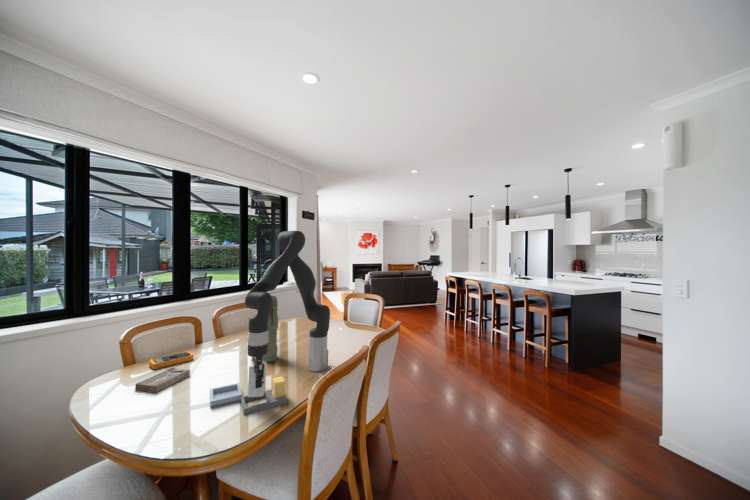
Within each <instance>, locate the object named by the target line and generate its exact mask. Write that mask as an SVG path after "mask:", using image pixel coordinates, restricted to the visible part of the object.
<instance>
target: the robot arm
mask: <svg viewBox="0 0 750 500" xmlns="http://www.w3.org/2000/svg"><path fill="white" fill-rule="evenodd" d="M277 242H278V243H277V244H278V246H279V248H280V251H281V253H282V254H281V255H279V256H278V257H277V258H276V259H275V260H273V261H272V263H270V264H269V266H267V269H266V270H265V271H264V273H263V275H262V276H261V278H260V279H259V281H258V282H257V283H255V285H253V287H252V288H251V289H250V290H249V291H248V292H247V293H246V296H245V299H244V305H245V307H246V308H247V309H251V310H257V313H256V314H254V315H252V316H250V318H248V335H247V355H248V357H251V362H252V363H253V365H254V373H255V379H256V380H255V387H256V388H261V387H262V378H263V377H264V364H263V363H264V359H263V357H262V356H264V355H266V354H267V353H268V318H269V315H270V311H271V308H272V305H273V299H272V296H273V295H271V293H269V292H272V291H275V290H276V288H277V287H278V285H279V283H280V281H281V280H282V278H283V276H284V274H285V273H286V271H287V269H288V268H289V269H290V271H291V273H292V276H293V279H294V282H295V285H296V287H297V289H298V291H299V294H300V296H301V299H302V301H303V302H302V303H303V306H304V310H305V315H306V316H307V318H308V320H309V321H311V322H314V323H316V327H312V328H311V329H310V330H309V340H308V343H309V345H308V370H309V371H311V372H322V371H324V370H327V369H328V368H329V349H328V333H329V330H330V320H331V319H330V318H331V310H330V307H329V306H328V305H326V304H319V303H318V302H317V301H316V299H315V290H316V286H317V285H316V284H317V281H316V278H315V276H314V272H313V270H312V268H311V267H310V266H309V265H308V264H307V263H306V262H305V261H304V260H303V259H302V258H301V257H300V255H299V253H300V252H301V251H302V250H303V248H304V246H305V243H306V236H305V234H304V232H302V231H301V230H286V231H285V230H284V231H281V232H279V234H278V236H277ZM256 369H257V370H256ZM258 374H261V375H258Z"/></svg>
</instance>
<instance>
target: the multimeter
mask: <svg viewBox="0 0 750 500" xmlns="http://www.w3.org/2000/svg"><path fill="white" fill-rule="evenodd" d="M193 359H194V353H193V352H191V351H183V352H180V353H174V354H169V355H165V356H161V357H157V358H153V359H152V358H151V359H149V363H148V364H149V366H150V368H151V369H152V370H159V369H163V368H166V367H169V366H170V367H171V366H173V365H177V364H183V363H186V362H191V361H192V360H193Z"/></svg>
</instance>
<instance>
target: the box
mask: <svg viewBox="0 0 750 500" xmlns="http://www.w3.org/2000/svg"><path fill="white" fill-rule="evenodd" d="M190 374H191V370H190V369H185V368H175V367H170V368H169V369H166V370H164V371H162V372H160V373H157V374H155V375H152V376H151V377H148V378H146V379H144V380H142V381H139V382H137V383H135V387H134V388H135V389H134V390H135V391H140V392H147V393H151V394H157V393H158V392H161V391H162V390H164V389H166V388H167V387H170V386H172V385H174V384H176V383H178V382H180V381H182V380H184V379H186V378H188V377H190Z"/></svg>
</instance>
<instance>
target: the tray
mask: <svg viewBox="0 0 750 500" xmlns="http://www.w3.org/2000/svg"><path fill="white" fill-rule="evenodd" d="M241 396H243V392H242V388H241V384H240V383H239V382H237V383H231V384H227V385H223V386H216V387H212V388H210V389H209V406H210V409H211V408H216V407H220V406H225V405H229V404H234V403H238V402H241Z"/></svg>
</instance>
